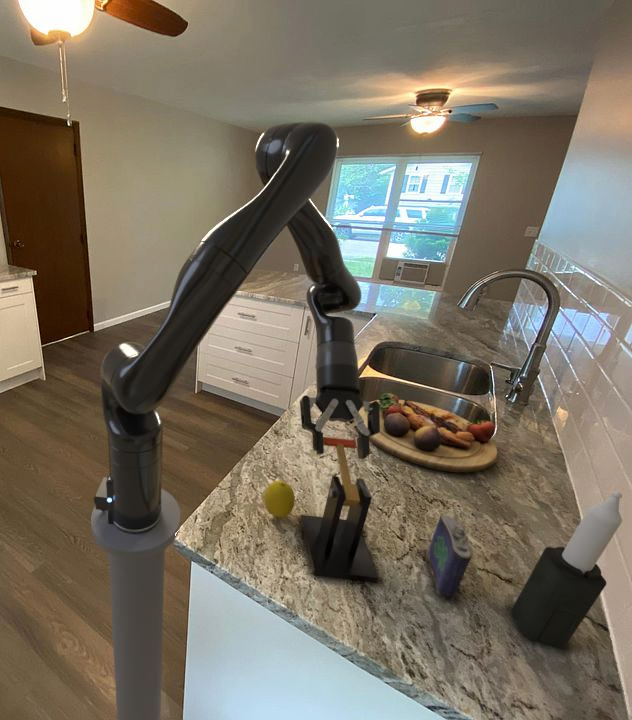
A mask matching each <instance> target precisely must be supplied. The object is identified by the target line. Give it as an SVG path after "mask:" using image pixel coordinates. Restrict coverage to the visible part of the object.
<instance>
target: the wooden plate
mask: <svg viewBox="0 0 632 720" xmlns="http://www.w3.org/2000/svg"><path fill="white" fill-rule="evenodd" d="M374 401H377V402H378V403H379V411H380V432H379V433H377V434H375V435H373V436H369V442H371V443H373V444H374V445H375V446H377V447H379V448H380V449H382V450H384V452H387V453H388V454H390V455H392V456H394V457H397V458H399V459H401V460H403V461H407V462H409V463H412V464H415V465H418V466H422V467H424V468H429V469H432V470H437V471H443V472H450V473H472V472H473V473H474V472H480V471H483V470H486V469H488V468H490V467H492V466H493V465H494V464H495V463H496V462H497V460H498V456H499V451H498V448H497V445H496V443H495V442H494V440H493V439H492V437H493V436H494V433H495V430H496V427H495V424H494V423H493V422H492V421H489V420H482V419H480V420H478V419H477V420H476V421H473V420H471V422H470V421H469V420H467V419H465V418H463V417H462V416H459V415H457V414H455V413H454V412H451V411H449V410H444V409H443V408H439V407H436V406H433V405H429V404H425V403H421V402H417V401H411V400H408V399H405V400H404V399H399V397H398V395H397V394H394V393H390V392H388V393H386V392H384V393H381V396H380V397H379V398H378V399H376V400H373V401H370V402H371V403H372V402H374ZM359 414H360V415H361V417H362V419H363V420H364V424H365V425H366V427H367V428H368V425H367V414H366V413H365V411H364V409H363V408H361V409H360V410H359Z"/></svg>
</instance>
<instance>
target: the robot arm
mask: <svg viewBox="0 0 632 720" xmlns="http://www.w3.org/2000/svg"><path fill="white" fill-rule="evenodd" d="M337 134H338V133H337V132H336V130H335V129H334V128H333V127H332V126H331V125H329V124H327V123H325V122H320V121H319V122H318V121H304V122H303V121H301V122H285V123H277V124H274V125H272V126H269V127H268V128H266V129H265V131H263V132H262V134H261V135H260V137H259V139H258V140H257V143H256V146H255V151H254V166H255V170H256V173H257V177H258V178H259V180H260V182H261V184H262V186H263V188H262V190H261V191H260V192H259V193H258V194H257V195H255V197H253V198H252V199H251V200H250V201H248V202H247V203H245V204H244V205H243V206H241V207H240V208H238V209H237V210H236V211H234V212H232V213H231V214H230V215H228V216H226V217H225V218H223V219H222V220H221V221H219V222H218V223H217V224H215V225H214V226H213V227H212V228H211V229H210V230H208V231H207V232H206V234H205V235H204V236H203V237H202V238H201V239H200V240H199V242H198V243H197V245H196V246H195V248H194V249H193V251H191V253H190V254H189V255H188V257H187V259H186V260H185V262H184V263H183V265H182V266H181V268H180V270H179V273H178V275H177V278H176V280H175V284H174V287H173V291H172V295H171V298H170V302H169V306H168V309H167V312H166V315H165V316H164V319H163V321H162V323H161V325H160V326H159V328H158V329H157V331H156V332H155V333H154V335H152V337H151V339H150V340H149V341H148V343H147V344H146V345H143V344H141V343H139V342H134V341H123V342H121V343H118V344H116V345H115V346H113V347H112V348H110V350H108V351H107V353H106V355H105V356H104V358H103V360H102V364H101V367H100V377H99V379H100V393H101V405H102V415H103V420H104V424H105V427H106V432H107V447H108V449H107V450H108V470H109V474H108V476H107V477H105V476H104V477H103V478H102V480H101V481H100V485H99V487H98V489H97V491H96V494H94V497H93V502H94V505H96V509H97V510H101V511H102V512H103V511H105V510H106V511H108V524H113V525H114V526H115V527H116V528H117V529H119V530H120V531H122V532H125V533H129V534H140V533H144V532H147V531H149V530H151V529H153V528H154V527H155V526H156V525H157V524H158V523H159V521H160V519H161V515H162V509H161V491H162V489H163V488H162V487H163V482H162V481H163V435H164V434H163V432H164V430H163V429H164V427H163V421H162V419H161V416H160V414H159V412H158V409H157V408H159V407H160V406H161V405H162V404H163V403H164V402H165V400H167V398H168V397H169V395H170V394H171V393H172V392H173V390H174V387H176V384H177V383H178V381H179V380H180V378H181V376H182V374H183V372H184V371H185V369H186V368H187V366H188V364H189V362H190V361H191V359H192V357H193V356H194V355H195V352H196V351H197V349H198V347H199V346H200V344H201V343H202V341H203V340H204V338H205V337H206V336H207V334H208V333H209V331H210V330H211V329H212V327H213V326H214V324H215V323H216V321H217V320H218V318H219V317H220V316H221V314H222V313H223V311H224V310H225V308H226V307H227V306H228V304H229V303H230V302H231V301H232V299H233V298H234V297H235V296H236V294H237V293H238V292H239V290H240V289H241V288H242V286H243V285H244V283H245V282H246V280H247V279H248V278H249V276H250V274H251V273H252V272H253V271H254V269H255V267H256V266H257V264H258V263H259V261H260V260H261V259H262V258H263V256H264V255H265V254H266V252H267V251H268V250H269V248H270V247H271V246H272V245H273V243H274V242H275V240H276V239H277V238H278V237H279V235H280V234H281V233H282V231H283V230H284V229H285V228H287V229H288V231H289V233H290V235H291V238H292V239H293V241H294V244H295V246H296V249H297V251H298V254H299V257H300V259H301V263H302V265H303V269H304V271H305V274H306V277H307V278H308V280H309V281H310V282H311V283H312V284H310V286H309V287H308V289H307V290H306V293H305V298H306V299H305V300H306V303H307V306H308V309H309V311H310V314H311V316H312V319H313V323H314V327H315V335H316V336H315V337H316V338H315V339H316V353H315V354H316V355H315V365H314V367H315V376H316V380H315V381H316V395H315V397H311V396H310V397H309V396H308V395H303V396H302V398H301V399H300V400H299V409H300V421H301V422H300V423H301V428H302V429H303V430H305V431H309V432H310V433H311V434H312V449H313V451H314V452H316V455H318V456H321V455H324V452H325V449H324V447H325V446H324V444H323V437H324V432H323V431H322V430H323V428H324V427H325V426H326V424H327V422H328V421H329V422H337V421H338V422H341V423H347V424H348V425H349V426H350V428H351V429H353V430H354V432H355V434H356V436H357V438H356V446H357V447H356V448H357V457H358V460H359V459H360V460H365V459H367V457H368V456H369V455H370V453H371V450H370V440H369V436H373V435H375V434H377V433H379V432H380V411H379V403H378V402H377V401H376V400H373V401H374V402H372V401H363V399H362V397H361V393H360V392H361V391H360V390H361V389H360V376H359V375H360V374H359V363H358V355H357V350H356V342H355V327H354V323H353V322H352V320H350V319H349V318H346V317H343V316H336V315H335V316H333V315H332V314H338V313H344V312H349V311H352V310H355V309H357V307H358V306H359V305H360V303H361V301H362V290H361V287H360V284H359V283H358V281H357V280H356V278H355V277H354V276H353V273H351V272H350V270H349V268H348V267H347V265H346V264H345V261H344V258H343V254H342V251H341V246H340V242H339V240H338V237H337V235H336V233H335V231H334V229H333V227H332V226H331V224H330V223H329V222H328V221H327V220H326V218H325V217H324V216H323V214H322V213H321V212H320V211H319V209H318V208H317V207H316V206H315V204H314V203H313V201H312V200H311V198H312V197H313V196H314V195H315V194H316V192H318V190H319V189H320V188H321V187H322V185H323V184H324V182H326V180H327V178H328V177H329V175H330V174H331V172H332V169H333V167H334V165H335V163H336V160H337V156H338V151H339V138H338V135H337ZM371 402H372V403H371ZM314 404H315V406H316V407H317V408H318V410H319V411H320V415H319V416H318V418H317V420H316V422H315V423H314V422H313V421H312V413H311V409H312V408H313V407H314ZM361 408H363V409H364V411H365V413H366V414H367V425H368V428H367V427H366V425H365V424H364V420H363V419H362V417H361V415H360V414H359V410H360V409H361Z"/></svg>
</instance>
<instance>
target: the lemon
mask: <svg viewBox="0 0 632 720" xmlns="http://www.w3.org/2000/svg"><path fill="white" fill-rule="evenodd" d="M263 500H264V507H265V509H266V510H267V512H268V513H269V514H270V515H272V516H273V517H276V518H285V517H287V516H288V515H290V514H291V513H292V511H293V509H294V506H295V492H294V489H293V488H292V486H291V485H290V484H289V483H288V482H286V481H283V480H275V481H273V482H271V483H270V484H269V485H268V486H267V488H266V489H265V493H264V496H263Z"/></svg>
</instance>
